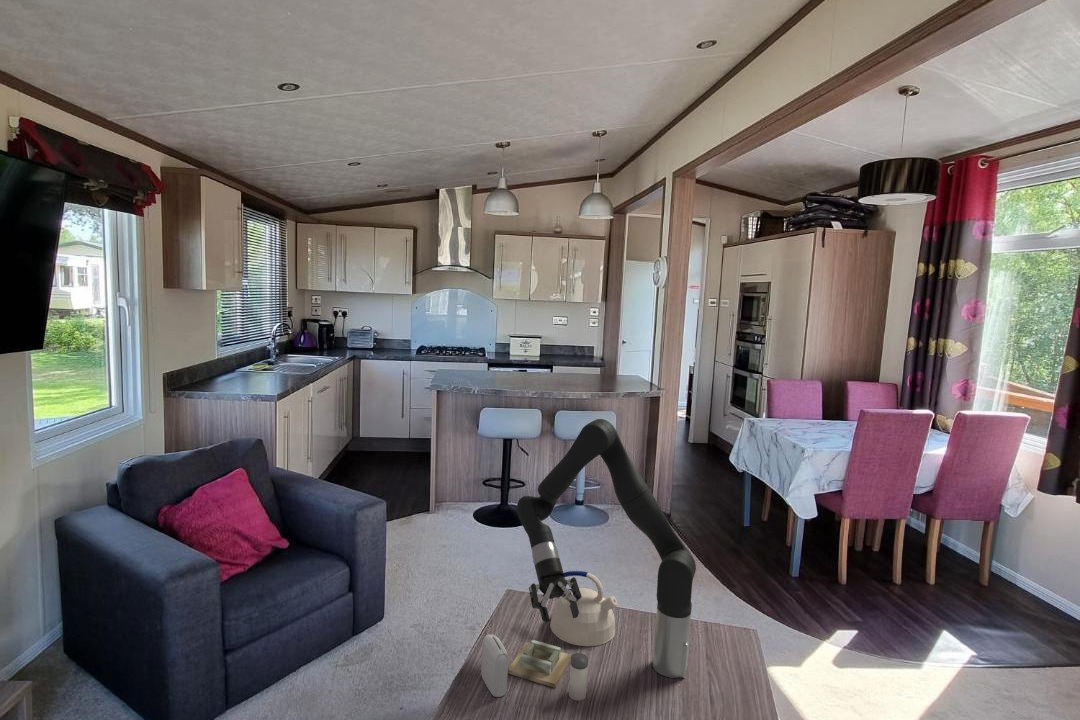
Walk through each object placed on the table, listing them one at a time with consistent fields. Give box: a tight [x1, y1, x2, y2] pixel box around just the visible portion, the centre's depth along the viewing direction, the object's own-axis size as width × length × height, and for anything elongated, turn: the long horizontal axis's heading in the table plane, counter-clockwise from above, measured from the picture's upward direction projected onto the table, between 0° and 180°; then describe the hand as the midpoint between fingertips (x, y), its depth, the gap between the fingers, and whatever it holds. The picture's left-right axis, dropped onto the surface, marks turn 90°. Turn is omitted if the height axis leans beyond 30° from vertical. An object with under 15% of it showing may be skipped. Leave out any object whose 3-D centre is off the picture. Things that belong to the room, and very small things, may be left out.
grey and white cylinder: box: [568, 652, 589, 702], centre depth 150 cm, size 4×4×10 cm
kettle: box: [549, 570, 618, 647], centre depth 180 cm, size 20×21×18 cm
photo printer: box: [480, 633, 509, 698], centre depth 152 cm, size 10×4×12 cm, turn 26°
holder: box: [507, 639, 573, 689], centre depth 161 cm, size 14×14×4 cm
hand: (561, 619), depth 159 cm, fingers open, 8 cm apart
